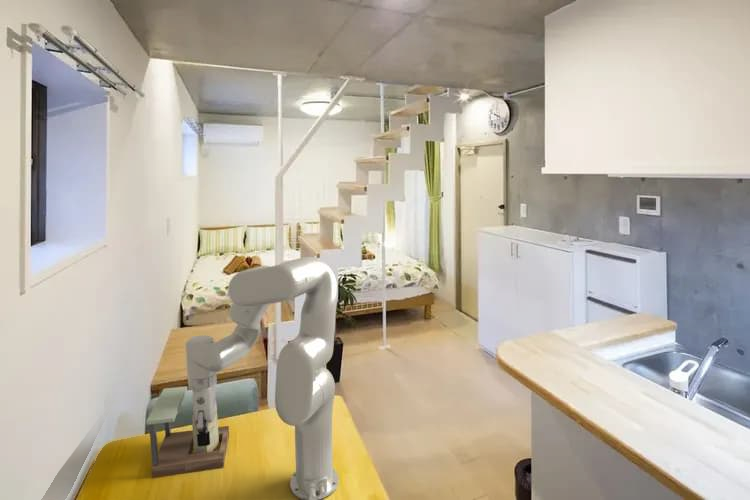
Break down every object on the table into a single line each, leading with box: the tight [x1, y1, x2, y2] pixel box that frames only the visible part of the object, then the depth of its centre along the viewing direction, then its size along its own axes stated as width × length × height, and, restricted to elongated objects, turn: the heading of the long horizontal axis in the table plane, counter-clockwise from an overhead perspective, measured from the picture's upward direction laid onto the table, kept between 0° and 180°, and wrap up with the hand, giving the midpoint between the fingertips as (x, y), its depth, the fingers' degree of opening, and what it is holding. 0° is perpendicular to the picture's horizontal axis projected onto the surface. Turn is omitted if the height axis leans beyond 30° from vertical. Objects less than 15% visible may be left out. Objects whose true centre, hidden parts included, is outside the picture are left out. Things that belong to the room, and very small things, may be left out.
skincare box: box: [191, 405, 220, 454], centre depth 120 cm, size 6×4×12 cm
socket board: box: [145, 386, 230, 479], centre depth 119 cm, size 18×18×17 cm
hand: (206, 436), depth 121 cm, fingers closed on skincare box, 7 cm apart
